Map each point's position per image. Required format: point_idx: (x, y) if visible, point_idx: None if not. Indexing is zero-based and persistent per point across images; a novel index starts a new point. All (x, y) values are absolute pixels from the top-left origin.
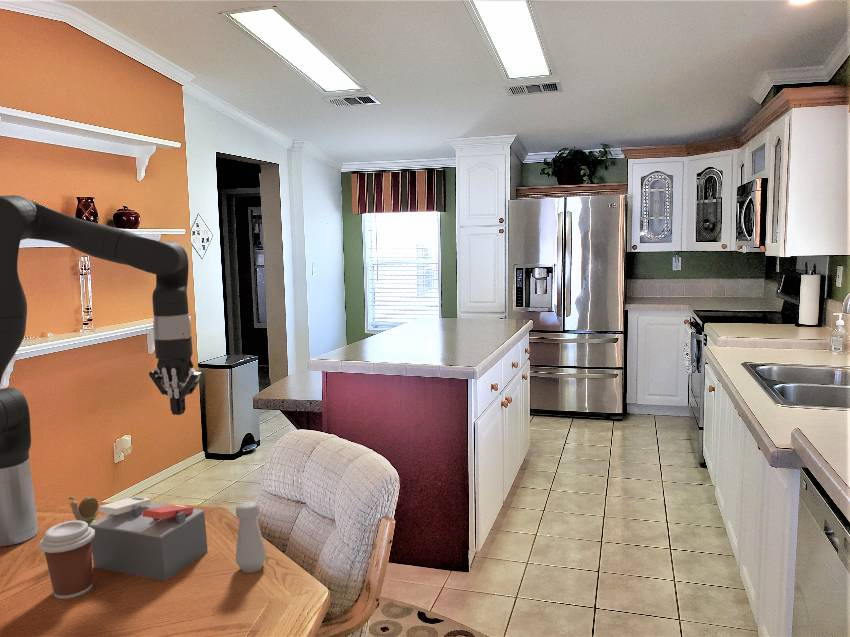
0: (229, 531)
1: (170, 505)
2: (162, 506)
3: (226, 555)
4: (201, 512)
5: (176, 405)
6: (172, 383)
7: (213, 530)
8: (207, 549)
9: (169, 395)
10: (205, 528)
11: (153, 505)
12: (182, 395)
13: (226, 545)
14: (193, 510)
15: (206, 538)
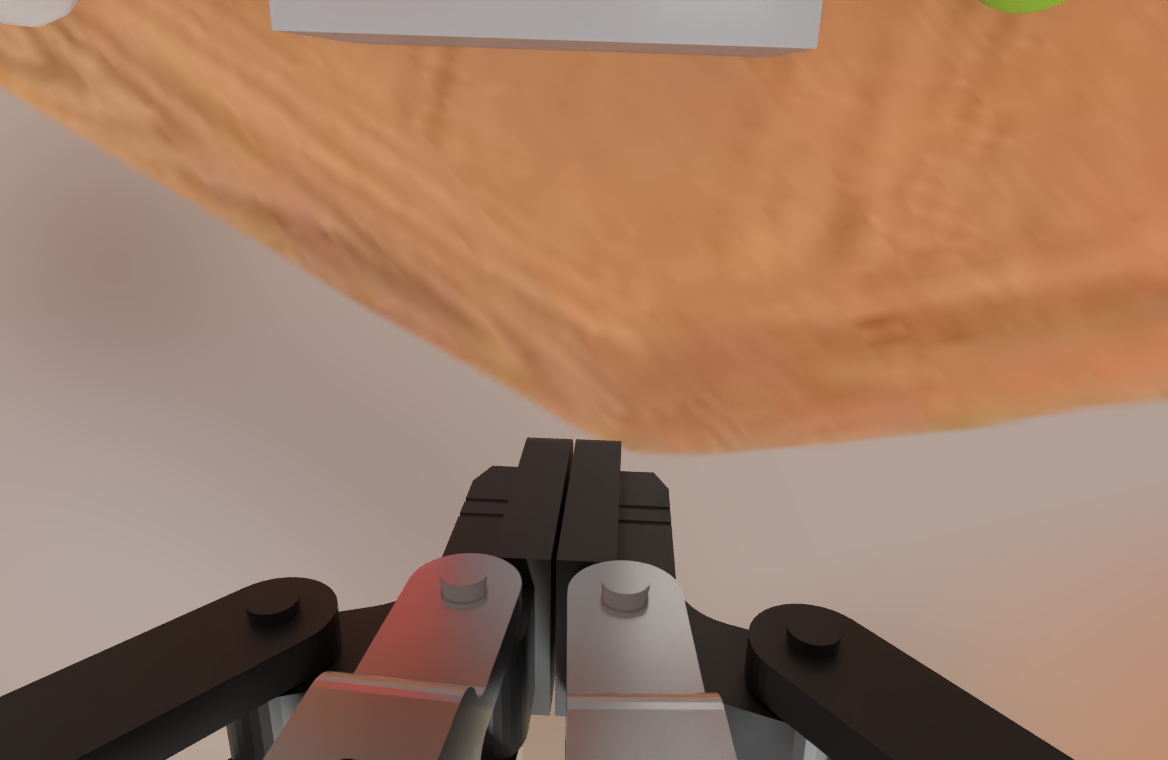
0: (400, 253)
1: (528, 36)
2: (570, 9)
3: (245, 35)
4: (272, 4)
5: (516, 496)
6: (429, 757)
7: (481, 244)
8: (351, 42)
9: (629, 582)
10: (314, 36)
11: (640, 7)
12: (308, 590)
13: (316, 125)
14: (330, 6)
15: (333, 39)
